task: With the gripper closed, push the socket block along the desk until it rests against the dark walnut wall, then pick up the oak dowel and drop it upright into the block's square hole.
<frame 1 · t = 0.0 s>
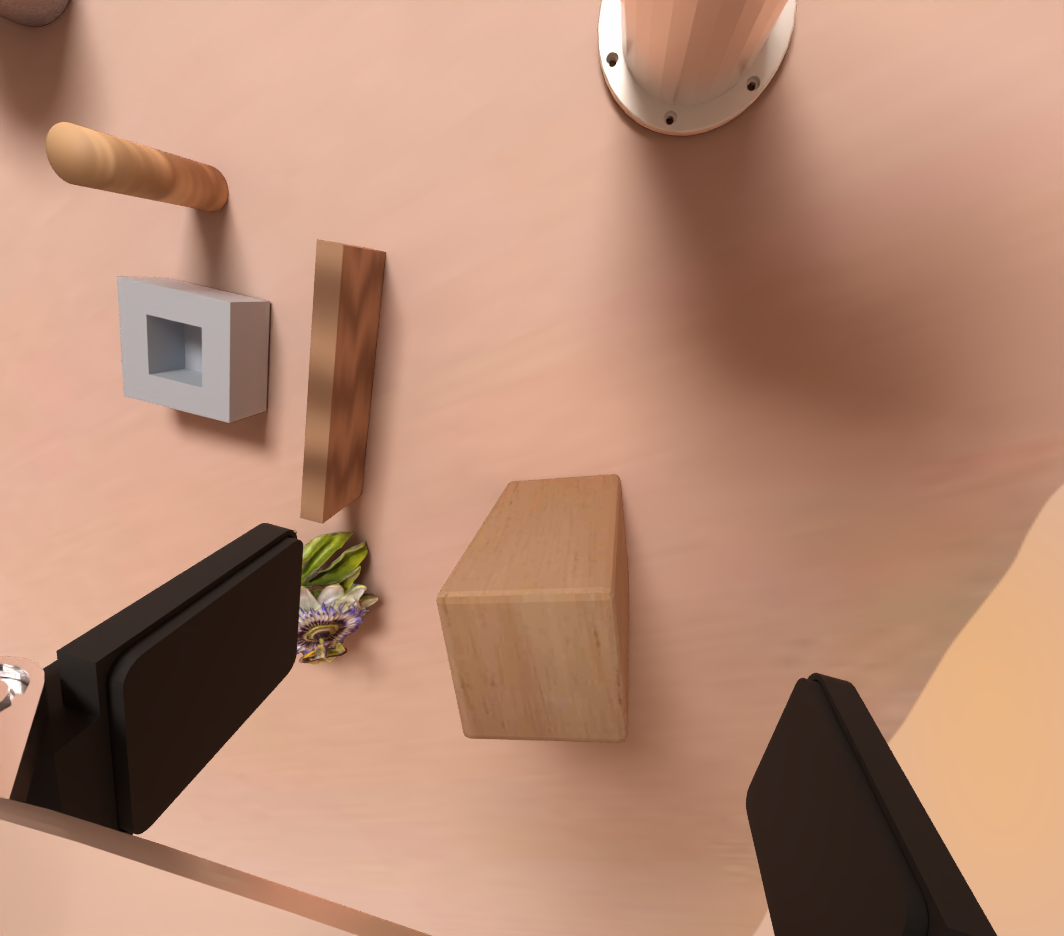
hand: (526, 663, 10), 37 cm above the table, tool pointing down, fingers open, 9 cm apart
passion flower: (335, 576, 56), on the table
wooden block: (569, 527, 49), on the table
walnut wall: (362, 380, 48), on the table
oak dowel: (209, 188, 45), on the table
socket block: (197, 348, 47), point 3 cm above the table, slide at 0.0 cm
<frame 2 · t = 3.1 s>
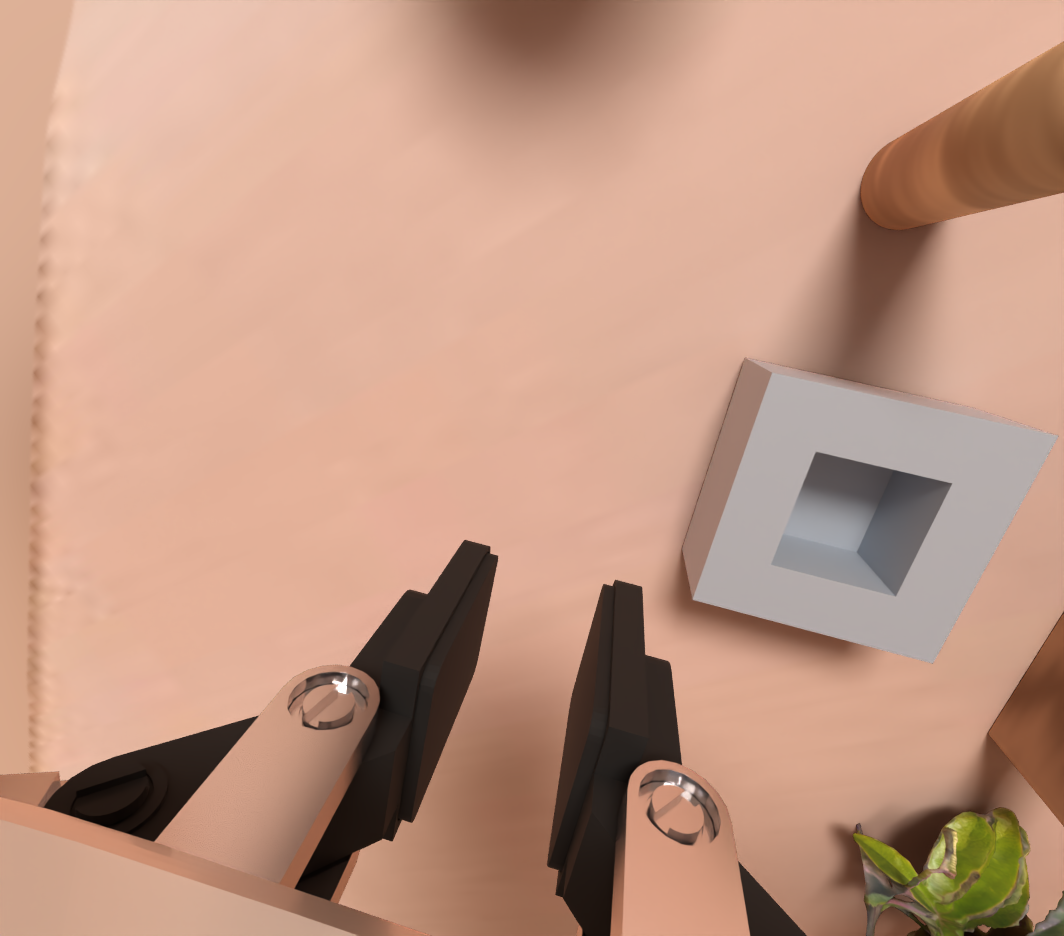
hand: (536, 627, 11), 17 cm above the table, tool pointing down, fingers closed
passion flower: (906, 856, 32), on the table
oak dowel: (908, 182, 22), on the table
socket block: (834, 503, 24), point 3 cm above the table, slide at 0.0 cm
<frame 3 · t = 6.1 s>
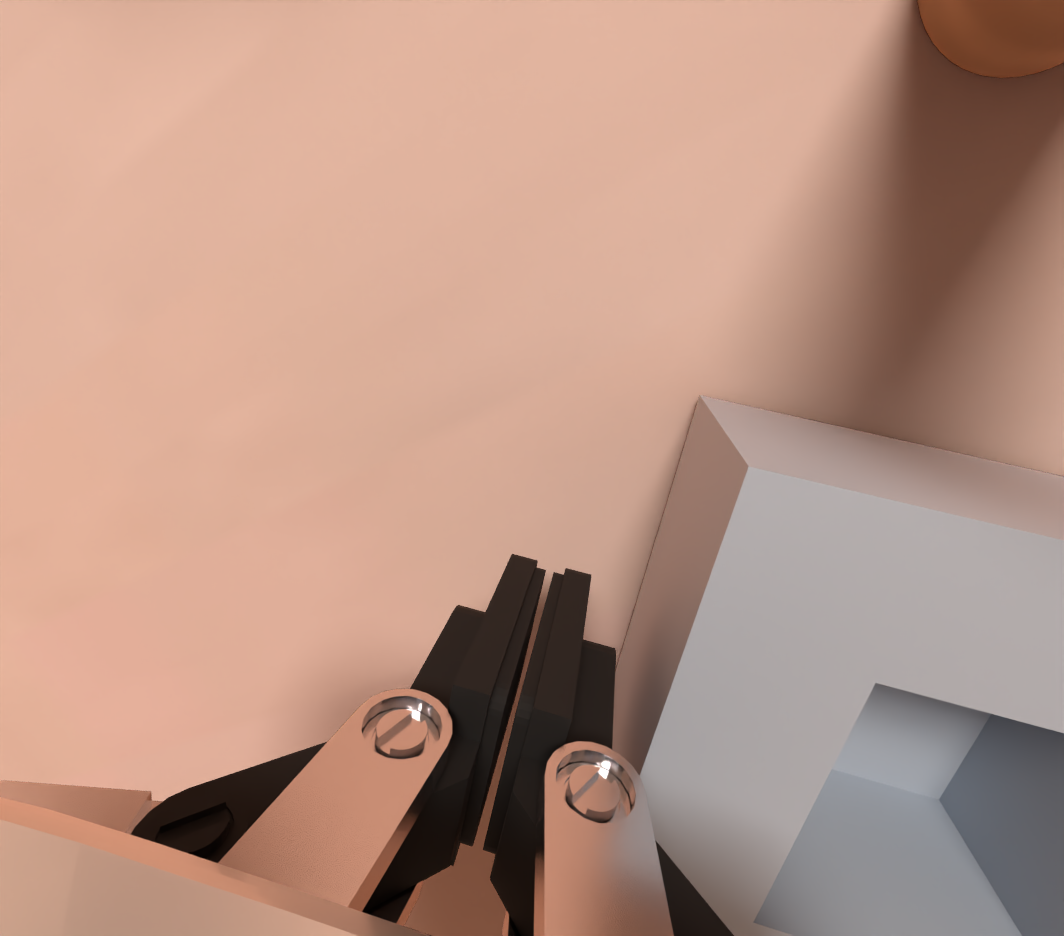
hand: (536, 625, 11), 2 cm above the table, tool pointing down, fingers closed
socket block: (902, 734, 10), point 3 cm above the table, slide at 0.9 cm, touching gripper
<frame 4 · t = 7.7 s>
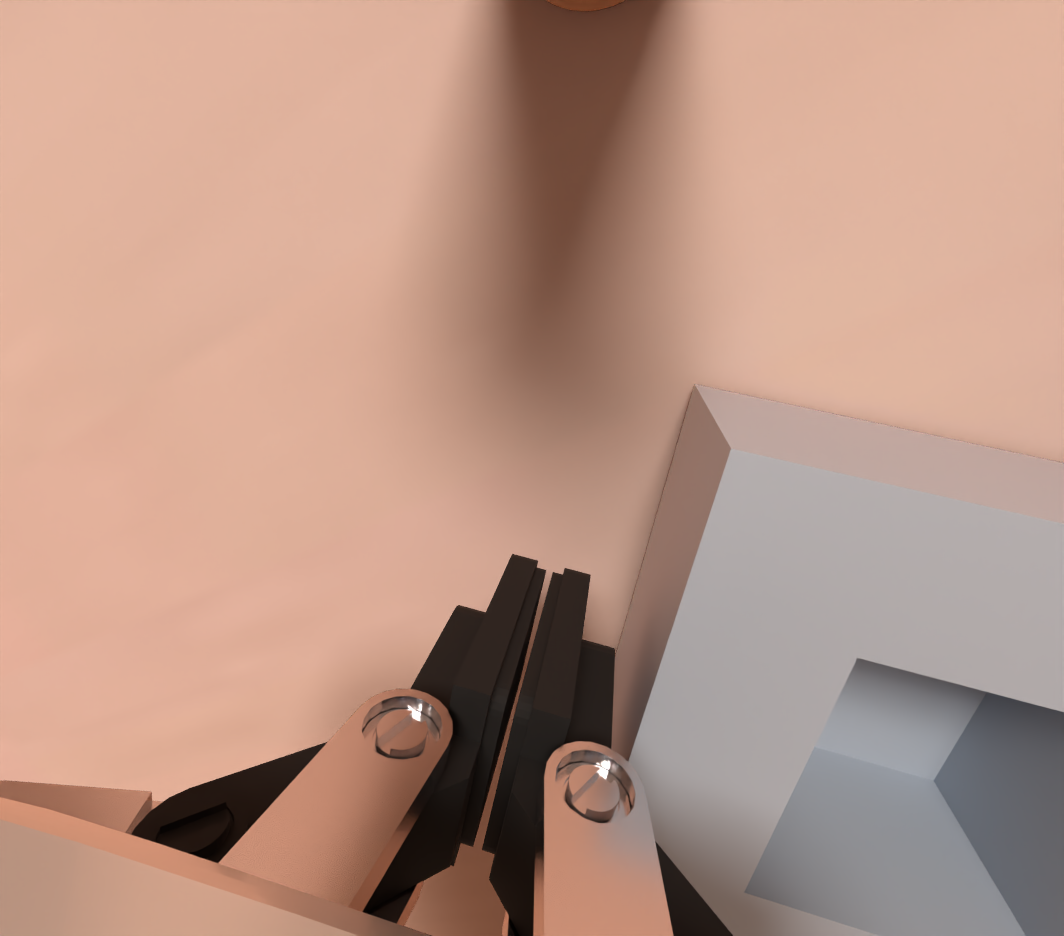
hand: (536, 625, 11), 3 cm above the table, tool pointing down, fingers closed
socket block: (892, 714, 10), point 3 cm above the table, slide at 8.0 cm, touching gripper, walnut wall
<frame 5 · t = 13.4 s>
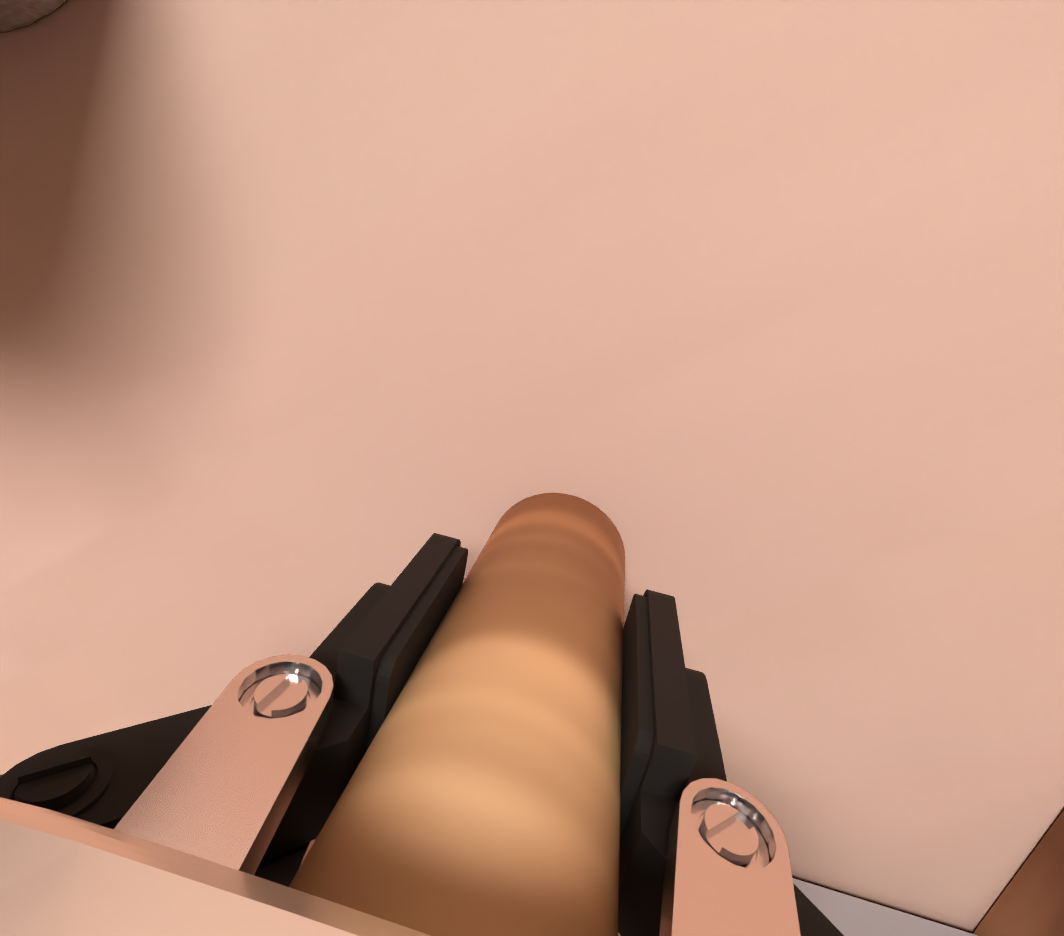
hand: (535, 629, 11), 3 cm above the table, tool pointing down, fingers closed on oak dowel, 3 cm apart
oak dowel: (556, 556, 14), on the table, touching gripper
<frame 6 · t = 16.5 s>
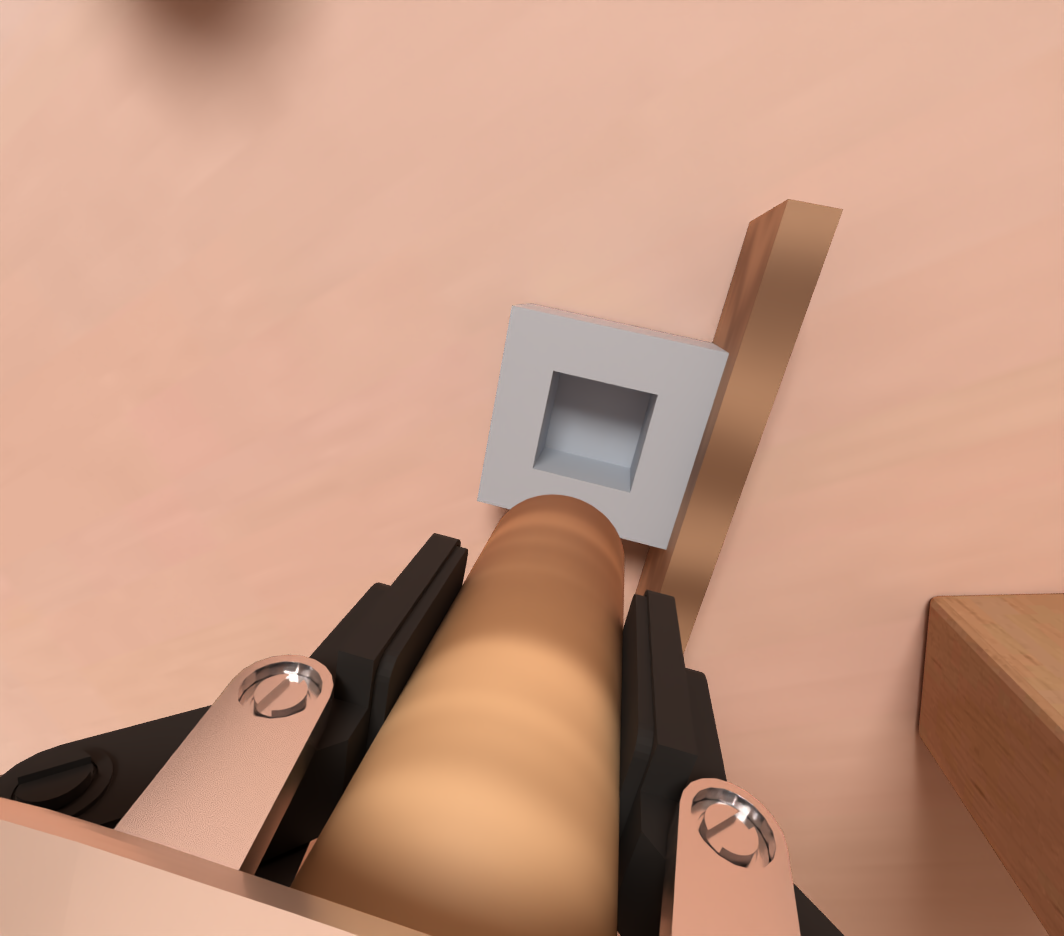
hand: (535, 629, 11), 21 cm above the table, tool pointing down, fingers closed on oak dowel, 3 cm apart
wooden block: (1014, 664, 32), on the table
walnut wall: (703, 435, 30), on the table
oak dowel: (556, 557, 14), point 18 cm above the table, touching gripper
socket block: (595, 421, 28), point 3 cm above the table, slide at 8.0 cm, touching walnut wall
when the fingers open (6 cm above the table, at t = 19.4 s): oak dowel drops 2 cm, resting on socket block.
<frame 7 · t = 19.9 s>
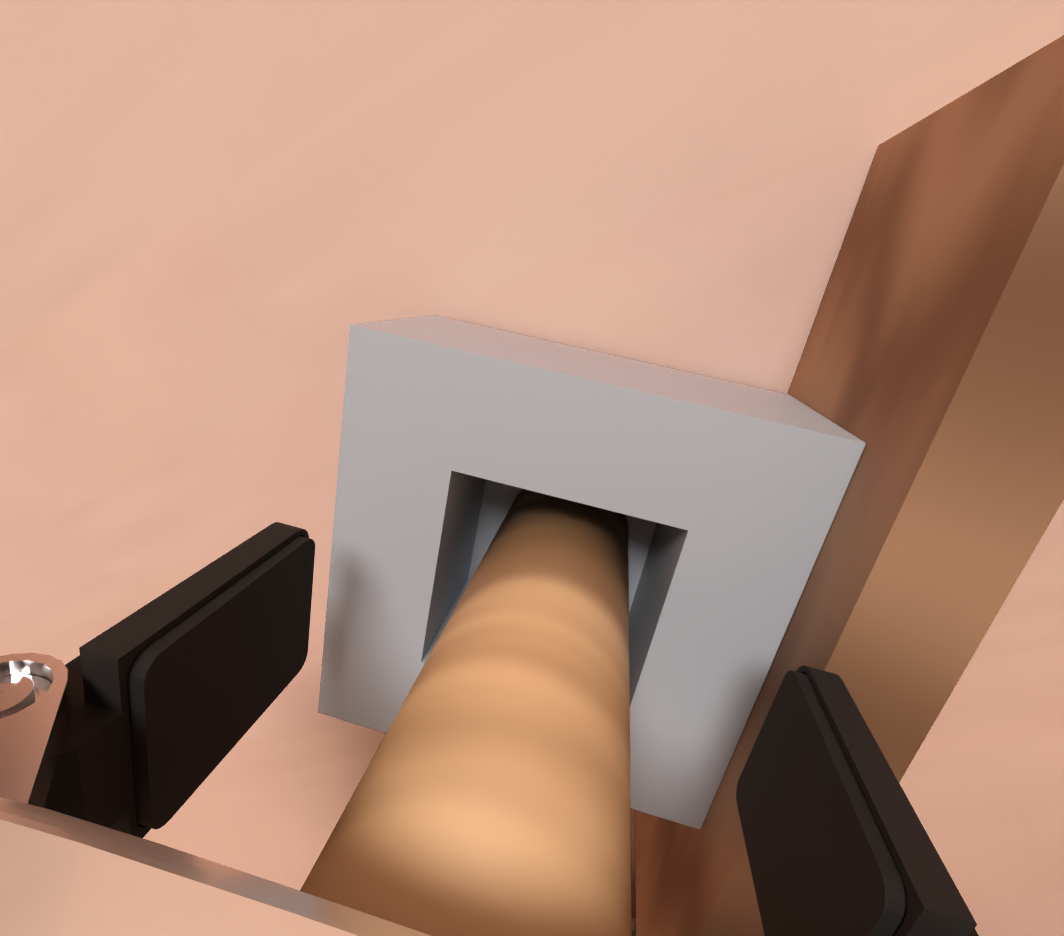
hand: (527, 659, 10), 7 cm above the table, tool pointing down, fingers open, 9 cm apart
walnut wall: (762, 562, 16), on the table
oak dowel: (567, 529, 16), point 1 cm above the table, touching socket block
socket block: (556, 551, 14), point 3 cm above the table, slide at 8.0 cm, touching oak dowel
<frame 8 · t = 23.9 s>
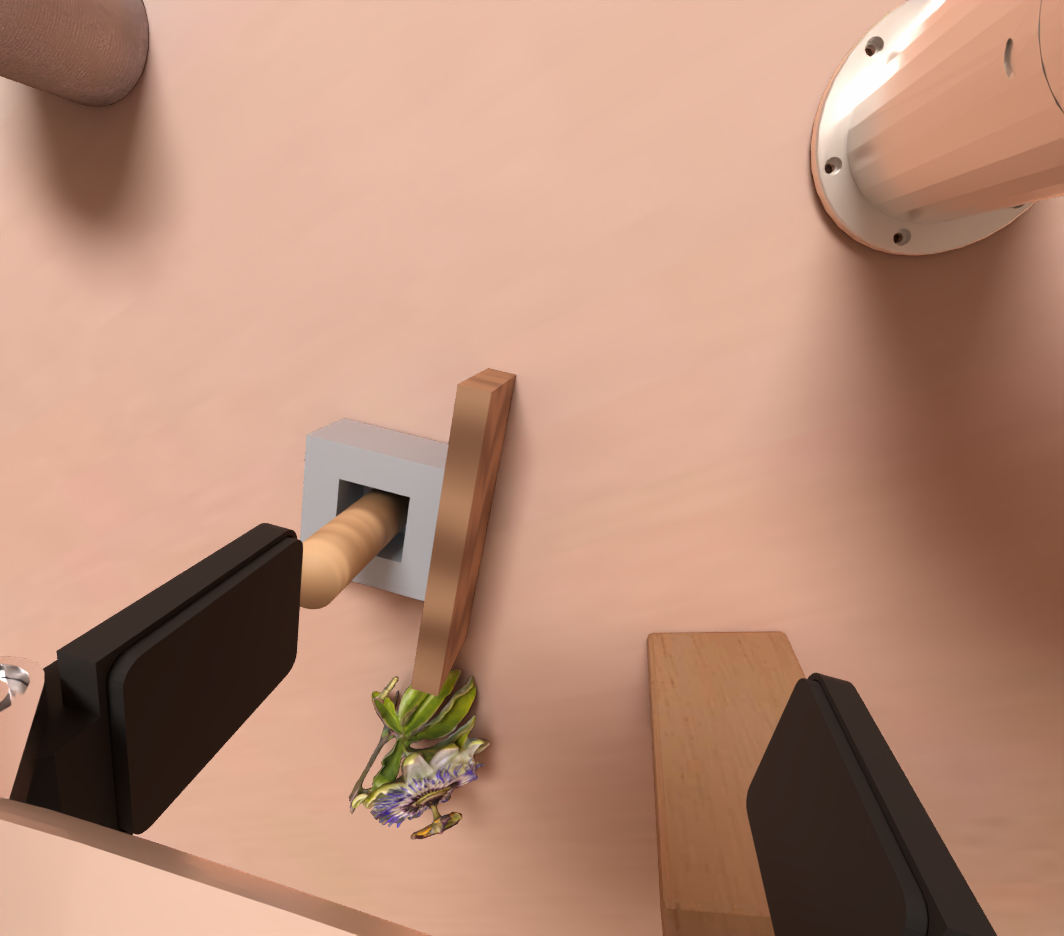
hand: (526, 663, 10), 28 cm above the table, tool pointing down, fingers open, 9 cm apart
pillar candle: (88, 22, 35), on the table
passion flower: (434, 713, 48), on the table
wooden block: (716, 683, 42), on the table
walnut wall: (476, 514, 41), on the table
oak dowel: (396, 500, 40), point 1 cm above the table, touching socket block
socket block: (386, 507, 39), point 3 cm above the table, slide at 8.0 cm, touching oak dowel
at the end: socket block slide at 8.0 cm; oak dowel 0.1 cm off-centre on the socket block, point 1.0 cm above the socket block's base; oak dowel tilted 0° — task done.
